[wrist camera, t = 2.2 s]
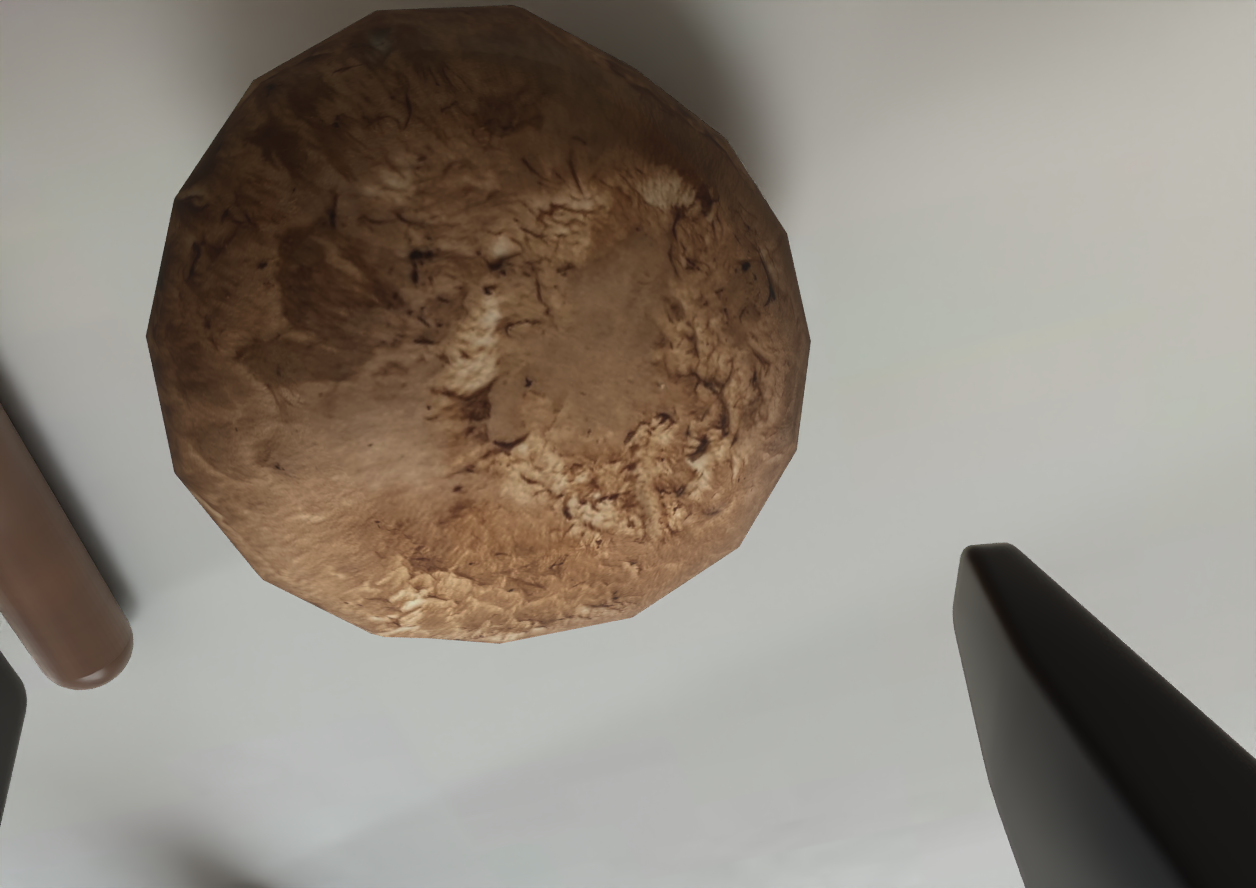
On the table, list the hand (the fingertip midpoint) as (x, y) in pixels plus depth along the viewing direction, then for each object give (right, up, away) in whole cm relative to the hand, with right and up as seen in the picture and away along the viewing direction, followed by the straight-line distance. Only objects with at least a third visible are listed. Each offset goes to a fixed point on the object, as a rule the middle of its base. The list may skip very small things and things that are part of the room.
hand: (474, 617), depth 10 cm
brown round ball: (0, +5, +6) cm, 7 cm away
